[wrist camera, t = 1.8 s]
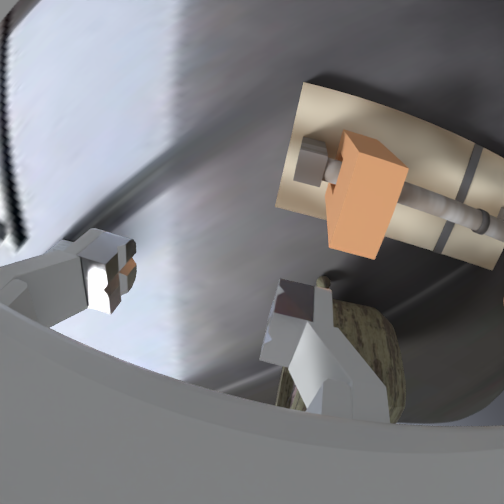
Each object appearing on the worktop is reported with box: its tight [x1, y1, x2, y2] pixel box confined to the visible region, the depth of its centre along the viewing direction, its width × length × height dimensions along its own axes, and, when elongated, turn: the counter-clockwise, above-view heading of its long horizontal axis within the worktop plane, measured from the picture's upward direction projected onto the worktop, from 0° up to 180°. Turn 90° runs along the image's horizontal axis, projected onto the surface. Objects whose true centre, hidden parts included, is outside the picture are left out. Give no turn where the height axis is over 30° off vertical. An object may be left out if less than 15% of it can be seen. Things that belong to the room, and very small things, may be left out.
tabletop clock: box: [275, 276, 406, 424], centre depth 28 cm, size 14×9×25 cm, turn 171°
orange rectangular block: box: [325, 129, 409, 260], centre depth 21 cm, size 3×6×9 cm, turn 169°
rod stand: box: [275, 82, 504, 270], centre depth 25 cm, size 12×26×8 cm, turn 79°
